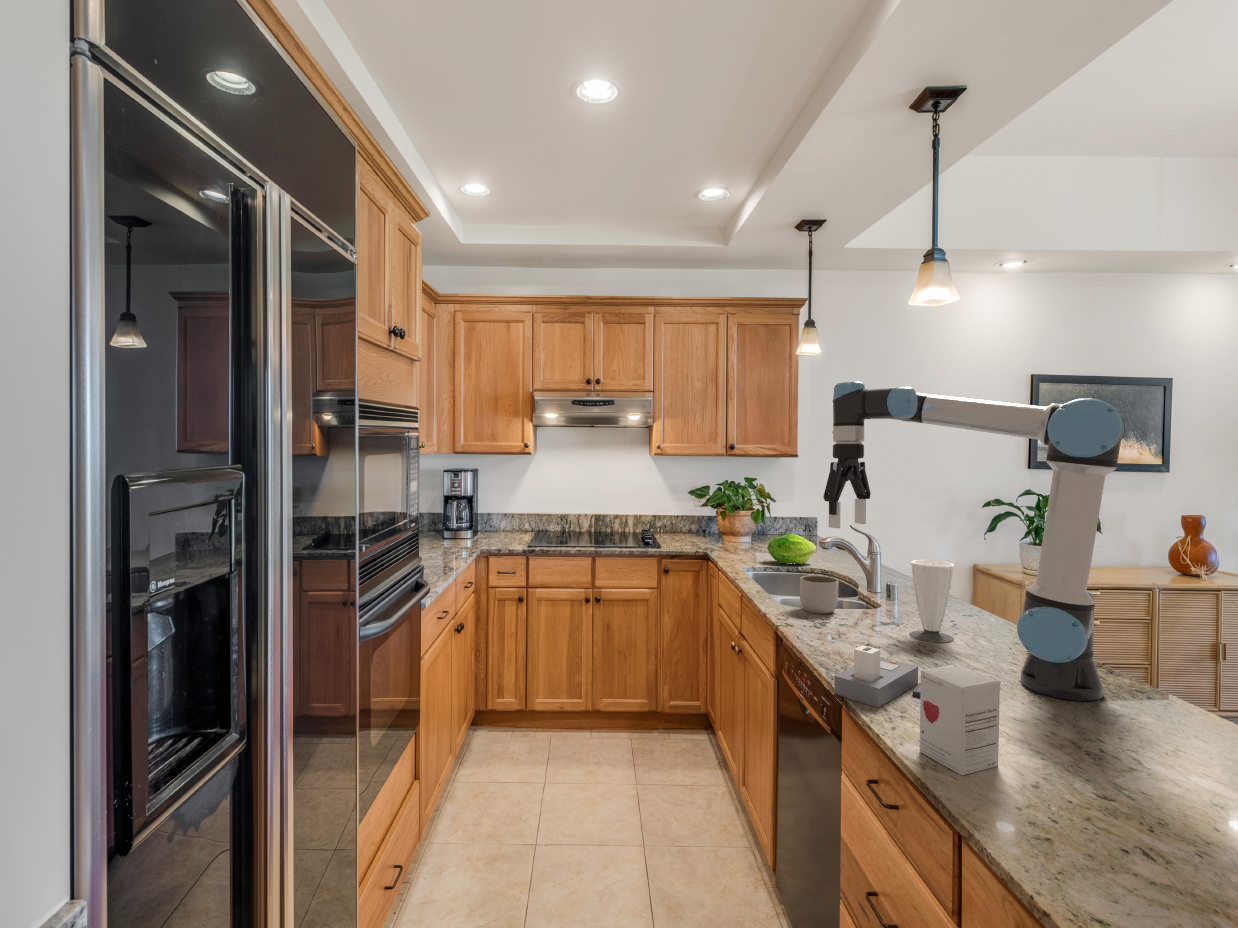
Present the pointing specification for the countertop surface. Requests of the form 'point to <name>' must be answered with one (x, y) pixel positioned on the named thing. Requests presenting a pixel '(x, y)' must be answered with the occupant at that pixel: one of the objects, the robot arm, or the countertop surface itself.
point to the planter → (818, 594)
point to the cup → (932, 597)
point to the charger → (867, 663)
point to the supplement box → (959, 718)
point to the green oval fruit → (791, 549)
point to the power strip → (878, 683)
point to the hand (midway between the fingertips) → (847, 525)
